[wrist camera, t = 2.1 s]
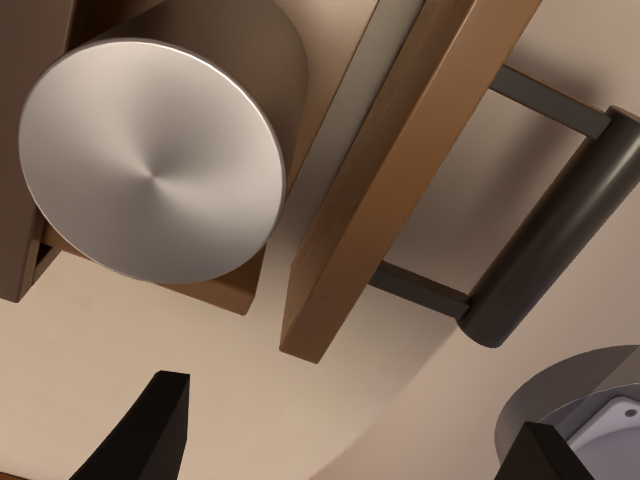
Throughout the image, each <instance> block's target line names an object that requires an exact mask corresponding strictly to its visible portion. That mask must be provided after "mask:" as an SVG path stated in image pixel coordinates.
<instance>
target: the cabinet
mask: <svg viewBox="0 0 640 480" xmlns="http://www.w3.org/2000/svg"><path fill="white" fill-rule="evenodd" d="M88 5H89V0H0V298H2V299H5V300H8V301H11V302H14V303H18V302H19V301H20V300H21V299H22V298H23V296H24V295H25V294H26V293H27V292H28V290H29V289H30V288H31V286H33V285H34V283H35V282H36V281H37V280H38V279H39V277H40V276H41V275H42V274H43V272H44V271H45V270H46V269H47V268H48V266H49V265H50V264H51V263H52V261H53V260H54V259H55V258H56V257H57V255H58V254H59V253H60V252H61V251H62V250H60V249H57V248H55V247H52V246H49V245H46V244H43V243H41V242H40V240H41V235H42V230H43V225H44V220H45V217H44V216H43V214H42V213H41V211H40V209H39V208H38V206H37V205H36V203H35V202H34V200H33V198H32V196H31V193H30V191H29V189H28V187H27V185H26V182H25V179H24V176H23V173H22V170H21V165H20V160H19V155H18V141H17V138H18V125H19V119H20V115H21V111H22V107H23V104H24V102H25V99H26V97H27V95H28V92H29V90H30V89H31V87H32V86H33V84H34V82H35V81H36V79H37V78H38V76H39V75H40V74H41V73H42V72H43V71H44V70H45V69H46V68H47V67H48V66H49V65H50V64H51V63H52V62H54V61H55V60H56V59H57V58H59V57H60V56H61V55H63V54H64V53H66V52H68V51H70V50H72V49H74V48H76V47H78V46H79V45H80V44H81V39H82V35H83V30H84V25H85V20H86V15H87V10H88Z"/></svg>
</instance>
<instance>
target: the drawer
mask: <svg viewBox="0 0 640 480" xmlns="http://www.w3.org/2000/svg"><path fill="white" fill-rule="evenodd" d="M164 1H166V0H89V5H88V10H87V15H86V20H85V25H84V30H83V35H82V39H81V44H83V43H85V42H87V41H89V40H91V39H93V38H95V37H97V36H99V35H101V34H102V33H104V32H106V31H108V30H110V29H112V28H114V27H116V26H118V25H120V24H122V23H124V22H126V21H127V20H129V19H131V18H133V17H135V16H137V15H139V14H141V13H143V12H145V11H147V10H149V9H150V8H152V7H154V6H156V5H158V4H160V3H162V2H164ZM270 1H272V2H273V3H274V4H276V5H277V6H278V7H279V8H280V9H281V10H282V11H283V12H284V13H285V14H286V16H287V17H288V18H289V19H290V21H291V22H292V24H293V25H294V27H295V29H296V30H297V32H298V34H299V36H300V38H301V41H302V43H303V46H304V49H305V53H306V58H307V63H308V84H307V90H306V95H305V100H304V105H303V110H302V116H301V121H300V126H299V131H298V136H297V141H296V146H295V151H294V156H293V162H292V167H291V172H290V177H289V182H288V187H287V192H286V197H285V201H286V199H287V197H288V194H289V192H290V190H291V188H292V186H293V184H294V182H295V180H296V177H297V175H298V173H299V171H300V169H301V167H302V165H303V162H304V160H305V158H306V156H307V154H308V152H309V150H310V148H311V145H312V143H313V141H314V139H315V137H316V135H317V133H318V130H319V128H320V126H321V124H322V122H323V120H324V118H325V116H326V113H327V111H328V109H329V107H330V105H331V103H332V101H333V99H334V96H335V94H336V92H337V90H338V88H339V86H340V84H341V81H342V79H343V77H344V75H345V73H346V71H347V69H348V67H349V64H350V62H351V60H352V58H353V56H354V54H355V52H356V49H357V47H358V45H359V43H360V41H361V39H362V37H363V35H364V32H365V30H366V28H367V26H368V24H369V22H370V20H371V17H372V15H373V13H374V11H375V9H376V7H377V5H378V3H379V0H270ZM541 2H542V0H427V1H426V2H425V4H424V6H423V8H422V10H421V12H420V14H419V16H418V18H417V20H416V22H415V24H414V26H413V28H412V30H411V32H410V34H409V36H408V38H407V40H406V42H405V43H404V45H403V47H402V49H401V51H400V53H399V55H398V57H397V59H396V61H395V63H394V65H393V67H392V69H391V71H390V73H389V75H388V77H387V79H386V81H385V83H384V85H383V86H382V88H381V90H380V92H379V94H378V96H377V98H376V100H375V102H374V104H373V106H372V108H371V110H370V112H369V114H368V116H367V118H366V120H365V122H364V124H363V126H362V127H361V129H360V131H359V133H358V135H357V137H356V139H355V141H354V143H353V145H352V147H351V149H350V151H349V153H348V155H347V157H346V159H345V161H344V163H343V165H342V167H341V169H340V170H339V172H338V174H337V176H336V178H335V180H334V182H333V184H332V186H331V188H330V190H329V192H328V194H327V196H326V198H325V200H324V202H323V204H322V206H321V208H320V210H319V212H318V213H317V215H316V217H315V219H314V221H313V223H312V225H311V227H310V229H309V231H308V233H307V235H306V237H305V239H304V241H303V243H302V245H301V247H300V249H299V251H298V253H297V254H296V256H295V258H294V260H293V262H292V264H291V269H290V276H289V283H288V290H287V297H286V304H285V311H284V318H283V325H282V332H281V339H280V346H279V350H280V351H281V352H284V353H287V354H289V355H292V356H295V357H298V358H301V359H303V360H306V361H309V362H312V363H315V364H318V363H319V361H320V360H321V358H322V357H323V355H324V353H325V352H326V350H327V348H328V347H329V345H330V344H331V342H332V340H333V339H334V337H335V336H336V334H337V332H338V331H339V329H340V327H341V326H342V324H343V323H344V321H345V319H346V318H347V316H348V314H349V313H350V311H351V310H352V308H353V306H354V305H355V303H356V301H357V300H358V298H359V297H360V295H361V293H362V292H363V290H364V289H365V287H366V285H367V284H368V285H371V286H373V287H376V288H379V289H381V290H384V291H386V292H389V293H391V294H394V295H396V296H399V297H402V298H404V299H407V300H409V301H412V302H414V303H417V304H419V305H422V306H425V307H427V308H430V309H432V310H435V311H437V312H440V313H442V314H445V315H448V316H450V317H453V318H455V320H456V322H457V324H458V326H459V327H460V329H461V330H462V331H463V332H464V333H465V334H466V335H467V336H468V337H470V338H471V339H472V340H474V341H475V342H477V343H478V344H480V345H483V346H485V347H489V348H497V347H499V346H501V345H502V344H503V342H504V341H505V340H506V339H507V338H508V337H509V335H510V334H511V333H512V332H513V331H514V329H515V328H516V327H517V326H518V325H519V323H520V322H521V321H522V320H523V319H524V317H525V316H526V315H527V314H528V313H529V312H530V310H531V309H532V308H533V307H534V306H535V305H536V303H537V302H538V301H539V300H540V298H542V296H543V295H544V294H545V293H546V292H547V290H548V289H549V288H550V287H551V286H552V284H553V283H554V282H555V281H556V280H557V279H558V277H559V276H560V275H561V274H562V273H563V271H564V270H565V269H566V268H567V267H568V266H569V264H570V263H571V262H572V261H573V260H574V259H575V257H576V256H577V255H578V254H579V253H580V251H581V250H582V249H583V248H584V247H585V245H586V244H587V243H588V242H589V241H590V239H591V238H592V237H593V236H594V235H595V233H596V232H597V231H598V230H599V229H600V227H602V225H603V224H604V223H605V222H606V220H607V219H608V218H609V217H610V216H611V215H612V214H613V212H614V211H615V210H616V209H617V208H618V206H619V205H620V204H621V203H622V202H623V201H624V199H625V198H626V197H627V196H628V195H629V193H630V192H631V191H632V190H633V189H634V188H635V186H636V185H637V184H638V183H639V182H640V118H639V117H638V116H636V115H634V114H632V113H630V112H628V111H626V110H624V109H622V108H620V107H617V106H614V105H611V106H609V108H608V109H607V110H606V112H603V111H602V110H600V109H598V108H596V107H594V106H592V105H590V104H588V103H586V102H584V101H582V100H580V99H578V98H576V97H574V96H572V95H570V94H568V93H566V92H564V91H562V90H560V89H558V88H556V87H554V86H552V85H550V84H548V83H546V82H544V81H542V80H540V79H538V78H536V77H534V76H532V75H530V74H528V73H526V72H524V71H522V70H520V69H518V68H516V67H514V66H512V65H510V64H508V63H506V62H505V60H506V59H507V57H508V55H509V54H510V52H511V50H512V49H513V47H514V46H515V44H516V42H517V41H518V39H519V38H520V36H521V34H522V33H523V31H524V29H525V28H526V26H527V25H528V23H529V21H530V20H531V18H532V16H533V15H534V13H535V12H536V10H537V8H538V7H539V5H540V4H541ZM81 44H80V45H81ZM488 88H489V89H491V90H493V91H495V92H497V93H499V94H501V95H503V96H505V97H507V98H509V99H511V100H513V101H516V102H518V103H520V104H522V105H524V106H526V107H528V108H530V109H532V110H534V111H536V112H538V113H540V114H542V115H544V116H546V117H548V118H550V119H552V120H554V121H556V122H558V123H560V124H562V125H565V126H567V127H569V128H571V129H573V130H575V131H577V132H579V133H581V134H583V135H585V136H587V137H586V138H585V140H584V141H583V142H582V144H581V145H580V146H579V148H578V149H577V150H576V152H575V153H574V154H573V156H572V157H571V158H570V160H569V161H568V162H567V164H566V165H565V166H564V168H563V169H562V170H561V172H560V173H559V174H558V176H557V177H556V178H555V180H554V181H553V182H552V184H551V185H550V186H549V188H548V189H547V190H546V192H545V193H544V194H543V196H542V197H541V198H540V200H539V201H538V202H537V204H536V205H535V206H534V208H533V209H532V210H531V211H530V213H529V214H528V215H527V217H526V218H525V219H524V221H523V222H522V223H521V225H520V226H519V227H518V229H517V230H516V231H515V233H514V234H513V235H512V237H511V238H510V239H509V241H508V242H507V243H506V245H505V246H504V247H503V249H502V250H501V251H500V253H499V254H498V255H497V257H496V258H495V259H494V261H493V262H492V263H491V265H490V266H489V267H488V269H487V270H486V271H485V273H484V274H483V275H482V277H481V278H480V279H479V281H478V282H477V283H476V285H475V286H474V287H473V289H472V290H471V291H470V293H469V294H468V295H466V294H465V293H463V292H460V291H458V290H455V289H453V288H450V287H448V286H445V285H443V284H440V283H438V282H435V281H433V280H430V279H428V278H425V277H423V276H420V275H418V274H415V273H413V272H410V271H408V270H406V269H403V268H401V267H398V266H396V265H393V264H391V263H388V262H386V261H383V260H382V259H383V258H384V256H385V255H386V253H387V251H388V250H389V248H390V246H391V245H392V243H393V242H394V240H395V238H396V237H397V235H398V233H399V232H400V230H401V229H402V227H403V225H404V224H405V222H406V221H407V219H408V217H409V216H410V214H411V212H412V211H413V209H414V208H415V206H416V204H417V203H418V201H419V199H420V198H421V196H422V195H423V193H424V191H425V190H426V188H427V187H428V185H429V183H430V182H431V180H432V178H433V177H434V175H435V174H436V172H437V170H438V169H439V167H440V165H441V164H442V162H443V161H444V159H445V157H446V156H447V154H448V153H449V151H450V149H451V148H452V146H453V144H454V143H455V141H456V140H457V138H458V136H459V135H460V133H461V131H462V130H463V128H464V127H465V125H466V123H467V122H468V120H469V118H470V117H471V115H472V114H473V112H474V110H475V109H476V107H477V106H478V104H479V102H480V101H481V99H482V97H483V96H484V94H485V93H486V91H487V89H488ZM284 203H285V202H284ZM40 242H41V243H43V244H46V245H49V246H52V247H55V248H57V249H60V250H63V251H66V252H68V253H71V254H74V255H77V256H79V257H82V258H85V259H88V260H90V261H92V260H91V259H89V258H88V257H86V256H85V255H83V254H82V253H80V252H79V251H78V250H77V249H75V248H74V247H73V246H72V245H70V244H69V243H68V242H67V241H66V240H65V239H64V238H63V237H62V236H61V235H60V234H59V233H58V232H57V231H56V230H55V229H54V228H53V227H52V226H51V224H50V223H49V222H48V221H47V219H46V218H45V220H44V225H43V230H42V235H41V240H40ZM266 245H267V242H266V243H265V245H264V246H263V247H262V248H261V249H260V250H259V251H258V252H257V253H256V254H255V255H254V256H253V257H252V258H251V259H249V260H248V261H247V262H245V263H244V264H242V265H241V266H240V267H238V268H236V269H234V270H232V271H230V272H228V273H227V274H224V275H221V276H219V277H216V278H213V279H210V280H206V281H201V282H196V283H188V284H162V283H154V284H157V285H159V286H162V287H165V288H168V289H170V290H173V291H176V292H179V293H182V294H184V295H187V296H190V297H193V298H195V299H198V300H201V301H204V302H206V303H209V304H212V305H215V306H217V307H220V308H223V309H226V310H228V311H231V312H234V313H237V314H240V315H242V316H245V315H246V314H247V312H248V310H249V308H250V306H251V304H252V302H253V300H254V298H255V294H256V290H257V285H258V281H259V276H260V272H261V267H262V263H263V258H264V254H265V250H266ZM93 262H94V261H93ZM151 283H152V282H151Z"/></svg>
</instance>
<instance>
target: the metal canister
mask: <svg viewBox="0 0 640 480" xmlns="http://www.w3.org/2000/svg"><path fill="white" fill-rule="evenodd" d="M307 84H308V63H307V58H306V53H305V49H304V46H303V43H302V41H301V38H300V36H299V34H298V32H297V30H296V29H295V27H294V25H293V24H292V22H291V21H290V19H289V18H288V17H287V16H286V14H285V13H284V12H283V11H282V10H281V9H280V8H279V7H278V6H277V5H276V4H274V3H273V2H272V1H270V0H166V1H164V2H162V3H160V4H158V5H156V6H154V7H152V8H150V9H149V10H147V11H145V12H143V13H141V14H139V15H137V16H135V17H133V18H131V19H129V20H127V21H126V22H124V23H122V24H120V25H118V26H116V27H114V28H112V29H110V30H108V31H106V32H104V33H102V34H101V35H99V36H97V37H95V38H93V39H91V40H89V41H87V42H85V43H83V44H81V45H79V46H78V47H76V48H74V49H72V50H70V51H68V52H66V53H64V54H63V55H61V56H60V57H59V58H57V59H56V60H55V61H54V62H52V63H51V64H50V65H49V66H48V67H47V68H46V69H45V70H44V71H43V72H42V73H41V74H40V75H39V76H38V78H37V79H36V81H35V82H34V84H33V86H32V87H31V89H30V90H29V92H28V95H27V97H26V99H25V102H24V104H23V107H22V111H21V115H20V119H19V125H18V138H17V141H18V155H19V160H20V165H21V170H22V173H23V176H24V179H25V182H26V185H27V187H28V189H29V191H30V193H31V196H32V198H33V200H34V202H35V203H36V205H37V206H38V208H39V209H40V211H41V213H42V214H43V216H44V217H45V218H46V219H47V221H48V222H49V223H50V224H51V226H52V227H53V228H54V229H55V230H56V231H57V232H58V233H59V234H60V235H61V236H62V237H63V238H64V239H65V240H66V241H67V242H68V243H69V244H70V245H72V246H73V247H74V248H75V249H77V250H78V251H79V252H80V253H82V254H83V255H85V256H86V257H88V258H89V259H91V260H92V261H94V262H96V263H98V264H100V265H102V266H104V267H105V268H107V269H110V270H112V271H114V272H117V273H119V274H122V275H125V276H128V277H131V278H134V279H138V280H142V281H147V282H152V283H162V284H188V283H196V282H201V281H206V280H210V279H213V278H216V277H219V276H221V275H224V274H227V273H228V272H230V271H232V270H234V269H236V268H238V267H240V266H241V265H242V264H244V263H245V262H247V261H248V260H249V259H251V258H252V257H253V256H254V255H255V254H256V253H257V252H258V251H259V250H260V249H261V248H262V247H263V246H264V245H265V243H266V242H267V241H268V239H269V238H270V237H271V235H272V233H273V231H274V230H275V228H276V226H277V224H278V221H279V219H280V216H281V214H282V211H283V206H284V202H285V197H286V192H287V187H288V182H289V177H290V172H291V167H292V162H293V156H294V151H295V146H296V141H297V136H298V131H299V126H300V121H301V116H302V110H303V105H304V100H305V95H306V90H307Z"/></svg>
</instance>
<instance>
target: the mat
mask: <svg viewBox="0 0 640 480" xmlns="http://www.w3.org/2000/svg"><path fill="white" fill-rule="evenodd" d="M0 480H23V479H20V478H16V477H13V476H9V475H6V474H2V473H0Z"/></svg>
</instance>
